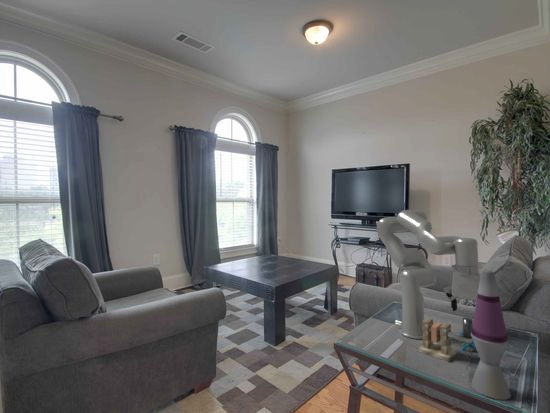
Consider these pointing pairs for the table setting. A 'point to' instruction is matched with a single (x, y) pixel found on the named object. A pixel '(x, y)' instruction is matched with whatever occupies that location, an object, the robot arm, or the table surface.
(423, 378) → the table surface
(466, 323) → the shaft
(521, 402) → the table surface
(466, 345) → the gear
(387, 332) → the table surface
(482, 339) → the lamp
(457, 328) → the table surface
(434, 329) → the spacer
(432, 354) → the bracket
